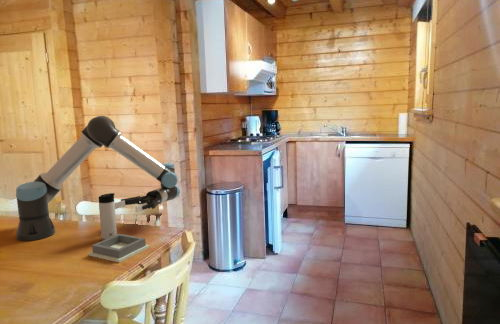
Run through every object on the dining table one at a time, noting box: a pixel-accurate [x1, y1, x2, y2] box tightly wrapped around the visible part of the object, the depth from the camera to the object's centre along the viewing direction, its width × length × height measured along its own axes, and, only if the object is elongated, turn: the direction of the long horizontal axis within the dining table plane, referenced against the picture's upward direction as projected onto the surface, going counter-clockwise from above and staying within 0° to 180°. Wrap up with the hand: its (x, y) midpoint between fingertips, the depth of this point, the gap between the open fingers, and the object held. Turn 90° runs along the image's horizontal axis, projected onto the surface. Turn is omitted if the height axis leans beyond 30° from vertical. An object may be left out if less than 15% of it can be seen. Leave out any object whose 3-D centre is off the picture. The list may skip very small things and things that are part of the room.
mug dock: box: [88, 233, 150, 264], centre depth 146 cm, size 16×16×4 cm
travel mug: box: [98, 192, 118, 241], centre depth 160 cm, size 6×7×20 cm
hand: (124, 208), depth 168 cm, fingers open, 13 cm apart
